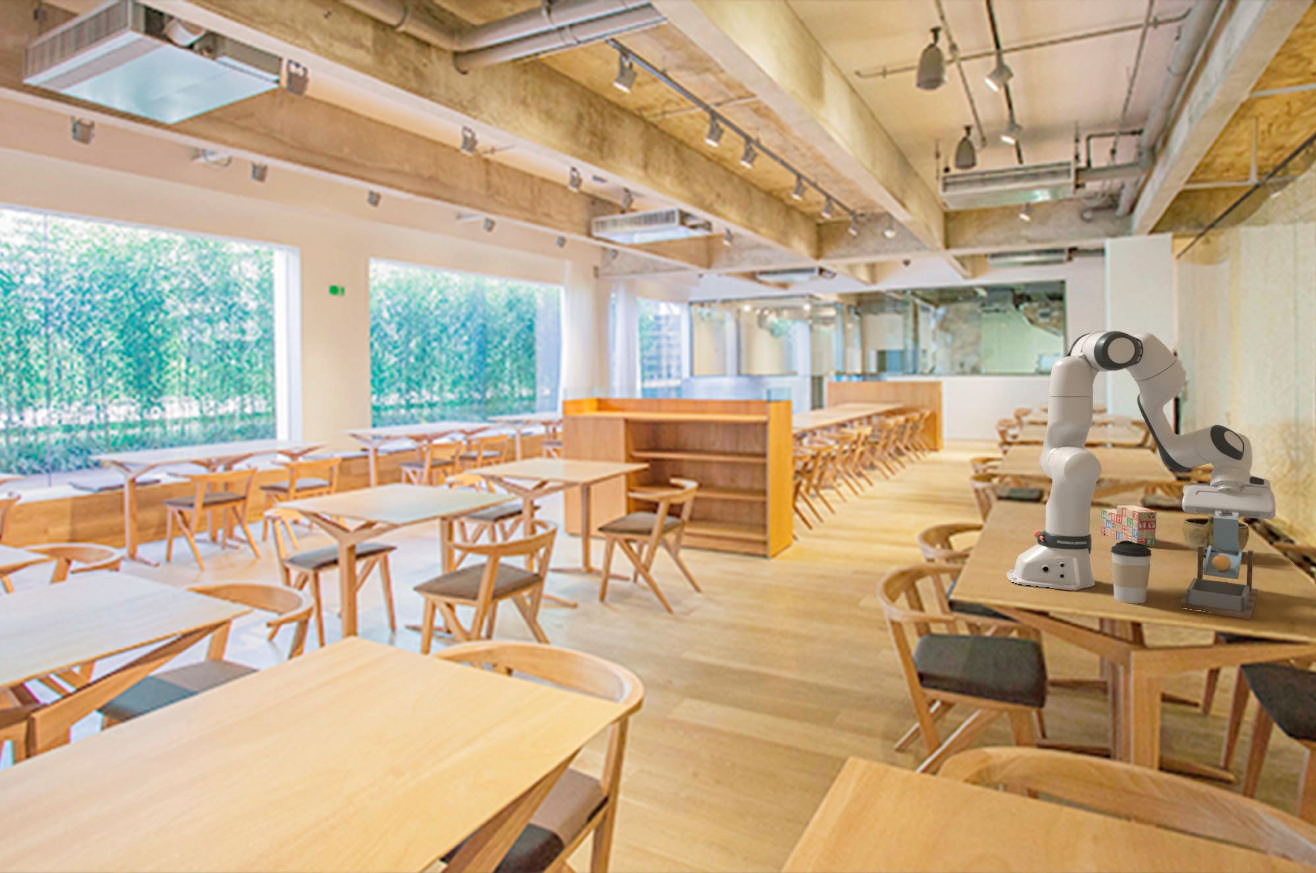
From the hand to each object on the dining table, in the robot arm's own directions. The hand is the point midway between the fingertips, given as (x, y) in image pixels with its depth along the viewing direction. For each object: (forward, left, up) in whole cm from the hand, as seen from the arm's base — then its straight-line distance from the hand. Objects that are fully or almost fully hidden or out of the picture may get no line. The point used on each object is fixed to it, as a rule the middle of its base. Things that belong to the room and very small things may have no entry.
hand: (1225, 527), depth 202 cm
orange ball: (-4, -8, -8) cm, 12 cm away
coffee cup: (-25, -12, -18) cm, 33 cm away
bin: (-6, -14, -16) cm, 22 cm away
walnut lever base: (-4, -9, -18) cm, 20 cm away
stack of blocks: (-6, +66, -18) cm, 68 cm away
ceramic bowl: (+14, +46, -18) cm, 51 cm away
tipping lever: (0, 0, -13) cm, 13 cm away
